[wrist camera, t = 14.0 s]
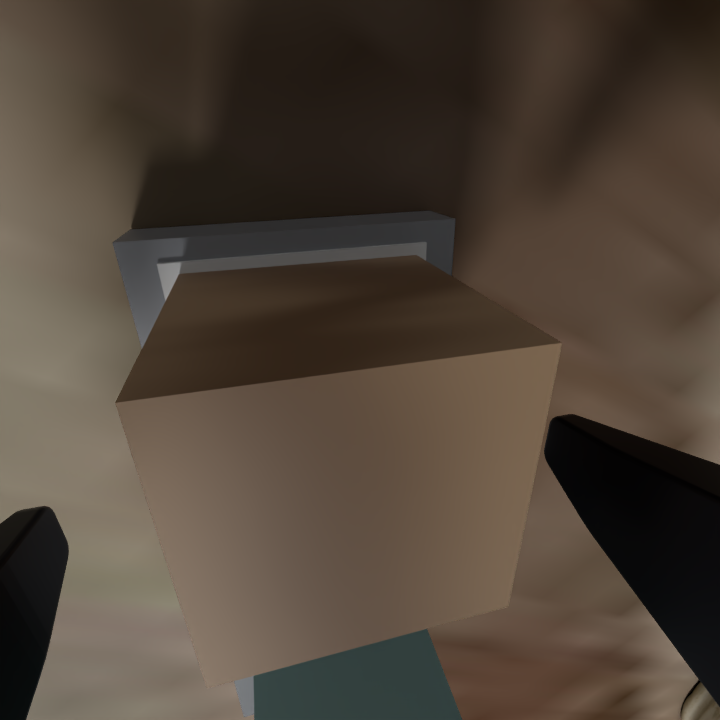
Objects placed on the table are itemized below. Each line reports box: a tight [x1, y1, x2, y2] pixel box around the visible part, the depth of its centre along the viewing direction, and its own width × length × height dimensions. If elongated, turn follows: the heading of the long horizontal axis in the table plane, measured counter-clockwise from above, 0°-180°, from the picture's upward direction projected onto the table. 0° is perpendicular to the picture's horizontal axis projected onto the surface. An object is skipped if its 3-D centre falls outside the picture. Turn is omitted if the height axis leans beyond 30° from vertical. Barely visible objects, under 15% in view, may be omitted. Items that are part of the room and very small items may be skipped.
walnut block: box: [115, 255, 562, 688], centre depth 8 cm, size 5×5×5 cm
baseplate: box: [113, 211, 455, 717], centre depth 13 cm, size 7×17×2 cm, turn 1°
